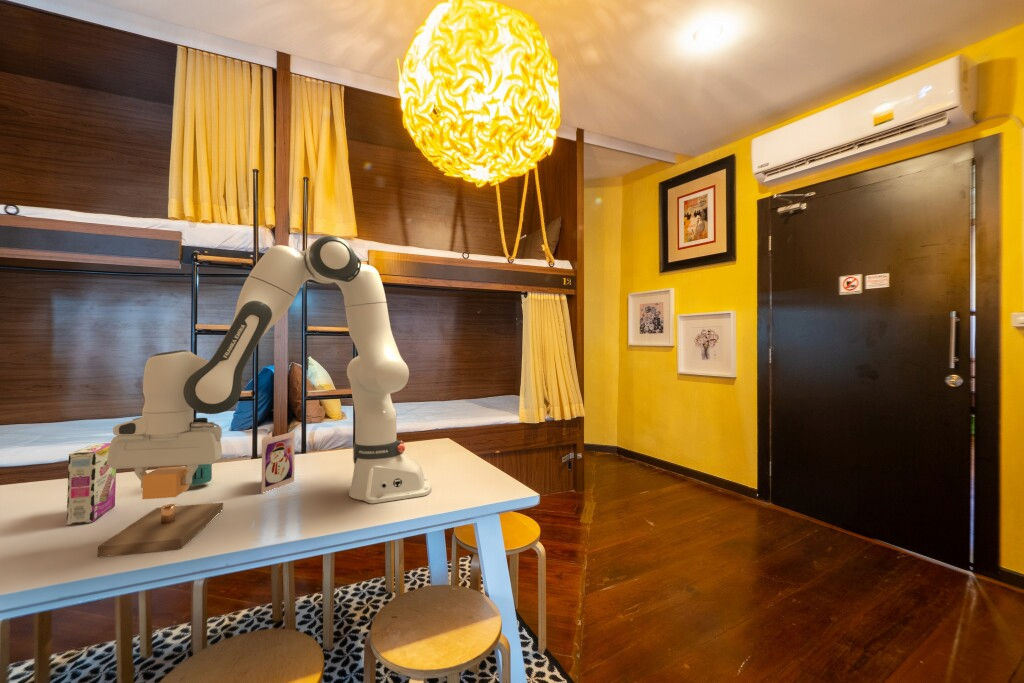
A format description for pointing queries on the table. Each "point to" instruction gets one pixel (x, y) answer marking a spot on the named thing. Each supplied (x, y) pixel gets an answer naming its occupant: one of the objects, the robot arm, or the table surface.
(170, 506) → the post
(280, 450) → the greeting card
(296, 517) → the table surface
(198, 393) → the robot arm
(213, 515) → the base plate
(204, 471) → the beverage bottle
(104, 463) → the candy bar box
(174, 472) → the orange wooden cube
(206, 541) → the table surface
